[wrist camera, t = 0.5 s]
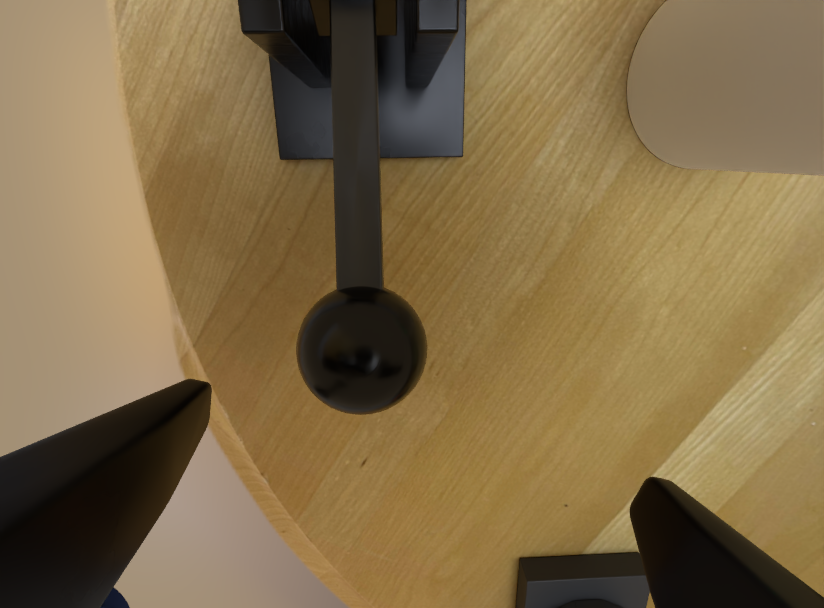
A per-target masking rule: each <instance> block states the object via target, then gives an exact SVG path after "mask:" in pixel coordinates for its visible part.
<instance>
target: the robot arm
mask: <svg viewBox="0 0 824 608" xmlns="http://www.w3.org/2000/svg"><path fill="white" fill-rule="evenodd" d="M211 393H212V388H211V385H210V384H209V383H208V382H204V381H199V380H195V379H187V380H184V381H182V382H179V383H177V384H175V385H172V386H170V387H167V388H165V389H162V390H160V391H158V392H155V393H153V394H150V395H148V396H146V397H143V398H141V399H139V400H136V401H134V402H132V403H129V404H126V405H124V406H122V407H119V408H117V409H115V410H112V411H110V412H107V413H105V414H103V415H100V416H98V417H95V418H93V419H90V420H89V421H86V422H83V423H81V424H78V425H76V426H74V427H72V428H69V429H66V430H64V431H62V432H59V433H57V434H55V435H52V436H50V437H47V438H45V439H43V440H40V441H38V442H36V443H33V444H31V445H28V446H26V447H23V448H21V449H19V450H16V451H14V452H11V453H9V454H7V455H4V456H2V457H0V608H100V607H101V605H102V604H103V602H104V601H105V599H106V597H107V596H108V594H109V593H110V591H111V590H112V588H113V587H114V585H115V584H116V582H117V581H118V579H119V578H120V576H121V575H122V573H123V571H124V570H125V568H126V567H127V565H128V564H129V562H130V561H131V559H132V558H133V556H134V555H135V553H136V552H137V550H138V549H139V547H140V545H141V544H142V542H143V541H144V539H145V538H146V536H147V535H148V533H149V532H150V530H151V529H152V527H153V526H154V524H155V523H156V521H157V520H158V518H159V516H160V515H161V513H162V512H163V510H164V509H165V507H166V505H167V504H168V502H169V500H170V499H171V497H172V495H173V493H174V491H175V489H176V487H177V485H178V483H179V481H180V479H181V477H182V475H183V473H184V472H185V470H186V468H187V466H188V464H189V462H190V460H191V458H192V456H193V454H194V452H195V450H196V448H197V446H198V444H199V442H200V440H201V438H202V436H203V434H204V432H205V430H206V428H207V425H208V422H209V418H210V406H211ZM630 518H631V522H632V526H633V530H634V533H635V537H636V541H637V545H638V549H639V552H640V556H641V560H642V564H643V567H644V571H645V575H646V579H647V582H648V586H649V589H650V593H651V596H652V599H653V602H654V605H655V608H824V597H822V596H821V595H820V594H818V593H817V592H816V591H814V590H813V589H812V588H810V587H809V586H808V585H807V584H805V583H804V582H803V581H801V580H800V579H799V578H797V577H796V576H795V575H793V574H792V573H791V572H790V571H788V570H787V569H786V568H784V567H783V566H782V565H780V564H779V563H778V562H776V561H775V560H774V559H773V558H771V557H770V556H769V555H767V554H766V553H765V552H763V551H762V550H761V549H759V548H758V547H757V546H755V545H754V544H753V543H752V542H750V541H749V540H748V539H746V538H745V537H744V536H742V535H741V534H740V533H738V532H737V531H736V530H735V529H733V528H732V527H731V526H729V525H728V524H727V523H725V522H724V521H723V520H721V519H720V518H719V517H718V516H716V515H715V514H714V513H712V512H711V511H710V510H708V509H707V508H706V507H704V506H703V505H702V504H701V503H699V502H698V501H697V500H695V499H694V498H693V497H691V496H690V495H689V494H687V493H686V492H685V491H684V490H682V489H681V488H680V487H678V486H677V485H676V484H674V483H673V482H672V481H669V480H666V479H662V478H657V477H649V478H647V479H646V480H645V481H644V483H643V485H642V486H641V488H640V490H639V491H638V493H637V495H636V496H635V498H634V500H633V502H632V503H631V506H630Z"/></svg>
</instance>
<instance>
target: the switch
mask: <svg viewBox="0 0 824 608" xmlns="http://www.w3.org/2000/svg"><path fill="white" fill-rule="evenodd" d="M238 5H239V13H240V22H241V30H242V32H243V34H244V35H246V36H247V37H248V38H249V39H251V40H252V41H253V42H254V43H255V44H257V45H258V46H259V47H260V48H262V49H263V50H264V51H265V52H266V53H268V54H269V63H270V72H271V81H272V91H273V100H274V109H275V119H276V128H277V137H278V147H279V156H280V160H299V159H333V127H332V88H331V50H330V36H319V35H318V33H317V29H316V26H315V22H314V18H313V15H312V11H311V8H310V4H309V1H308V0H238ZM465 43H466V0H397V34H396V35H379V36H377V62H378V98H379V134H380V158H425V157H463V134H464V89H465Z"/></svg>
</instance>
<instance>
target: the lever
mask: <svg viewBox="0 0 824 608" xmlns="http://www.w3.org/2000/svg"><path fill="white" fill-rule="evenodd" d="M308 1H309V4H310V8H311V11H312V15H313V18H314V22H315V26H316V29H317V33H318V35H319V36H330V50H331V88H332V127H333V166H334V204H335V243H336V282H337V289H336V290H334V291H332V292H330V293H328V294H327V295H325V296H324V297H322V298H321V299H320V300H319V301H318V302H317V303H316V304H314V306H313V307H312V308H311V309H310V310H309V312H308V313H307V315H306V317H305V318H304V320H303V322H302V325H301V327H300V330H299V333H298V338H297V345H296V355H297V363H298V367H299V370H300V373H301V376H302V378H303V380H304V382H305V384H306V385H307V387H308V388H309V389H310V391H311V392H312V393H313V394H314V395H315V396H316V397H317V398H318V399H319V400H320V401H322V402H323V403H324V404H326V405H328V406H329V407H331V408H333V409H335V410H338V411H341V412H344V413H348V414H355V415H366V414H373V413H378V412H381V411H384V410H386V409H389V408H391V407H393V406H394V405H396V404H398V403H399V402H400V401H402V400H403V399H404V398H405V397H406V396H408V395H409V394H410V392H411V391H412V390H413V389H414V388H415V386H416V384H417V383H418V381H419V380H420V377H421V375H422V373H423V370H424V367H425V364H426V358H427V340H426V334H425V330H424V327H423V325H422V322H421V320H420V318H419V316H418V314H417V313H416V312H415V310H414V309H413V307H412V306H411V305H410V304H409V303H408V302H407V301H406V300H405V299H403V298H402V297H401V296H399V295H398V294H396V293H395V292H393V291H391V290H389V289H386V288H384V278H383V242H382V206H381V170H380V134H379V98H378V62H377V36H379V35H396V34H397V0H308Z"/></svg>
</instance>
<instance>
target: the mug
mask: <svg viewBox="0 0 824 608" xmlns="http://www.w3.org/2000/svg"><path fill="white" fill-rule="evenodd" d="M627 103H628V110H629V114H630V118H631V121H632V124H633V127H634V129H635V131H636V133H637V135H638V137H639V138H640V140H641V141H642V143H643V144H644V145H645V146H646V148H647V149H648V150H649V151H650V152H651V153H653V154H654V155H655V156H656V157H658V158H659V159H661V160H662V161H664V162H666V163H668V164H671V165H673V166H677V167H680V168H686V169H700V170H720V171H741V172H762V173H782V174H803V175H823V176H824V0H666V1H665V2H664V3H663V4H662V6H661V7H660V8H659V9H658V10H657V11H656V13H655V14H654V15H653V16H652V18H651V19H650V21H649V22H648V24H647V25H646V27H645V29H644V30H643V32H642V34H641V36H640V38H639V40H638V42H637V45H636V47H635V50H634V53H633V56H632V59H631V63H630V67H629V72H628V79H627Z"/></svg>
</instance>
